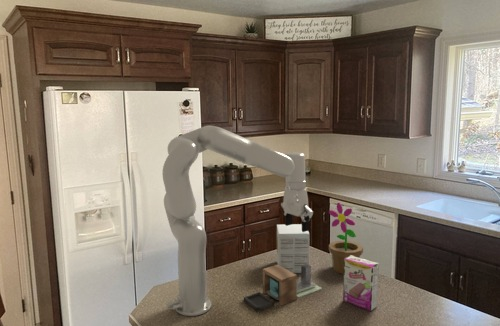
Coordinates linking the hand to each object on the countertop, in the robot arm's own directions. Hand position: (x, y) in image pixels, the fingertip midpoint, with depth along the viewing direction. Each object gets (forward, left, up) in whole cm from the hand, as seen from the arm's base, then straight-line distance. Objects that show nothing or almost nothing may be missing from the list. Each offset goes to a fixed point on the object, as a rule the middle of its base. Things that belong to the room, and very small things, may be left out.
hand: (296, 227), depth 155 cm
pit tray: (-21, -4, -23) cm, 32 cm away
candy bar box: (+9, -25, -24) cm, 35 cm away
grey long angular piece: (-5, -4, -23) cm, 24 cm away
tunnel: (-11, -4, -23) cm, 26 cm away
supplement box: (+10, +14, -24) cm, 29 cm away
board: (0, -4, -23) cm, 24 cm away
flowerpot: (+27, -1, -24) cm, 35 cm away
